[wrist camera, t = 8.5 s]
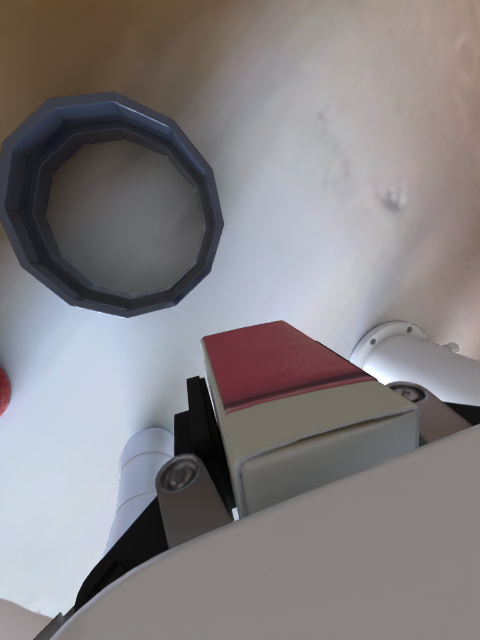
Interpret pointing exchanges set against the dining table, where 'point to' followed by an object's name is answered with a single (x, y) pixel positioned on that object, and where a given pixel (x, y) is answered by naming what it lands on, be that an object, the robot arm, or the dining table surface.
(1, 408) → the canned food
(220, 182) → the dining table surface
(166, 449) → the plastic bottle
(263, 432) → the small box
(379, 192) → the dining table surface
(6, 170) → the ring
